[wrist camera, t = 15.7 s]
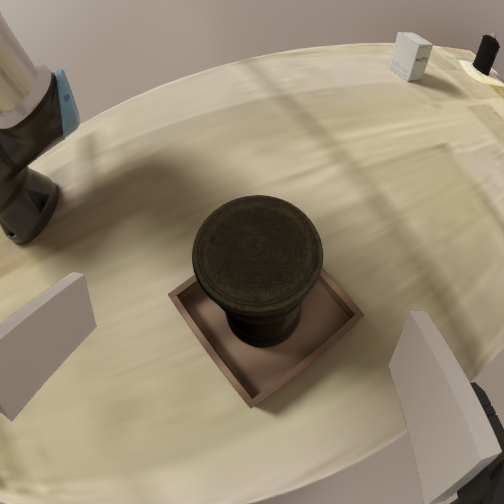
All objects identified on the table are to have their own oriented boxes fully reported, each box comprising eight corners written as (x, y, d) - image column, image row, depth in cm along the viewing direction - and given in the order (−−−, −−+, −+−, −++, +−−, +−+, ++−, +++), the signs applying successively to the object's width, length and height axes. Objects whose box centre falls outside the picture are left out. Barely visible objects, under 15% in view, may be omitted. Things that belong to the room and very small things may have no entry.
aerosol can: (476, 70, 65) (491, 32, 47) (469, 61, 68) (482, 25, 50) (491, 78, 64) (506, 42, 45) (484, 68, 67) (497, 34, 49)
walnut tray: (175, 300, 36) (167, 294, 34) (274, 229, 40) (274, 217, 37) (252, 406, 30) (250, 408, 27) (357, 320, 34) (364, 315, 31)
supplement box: (407, 82, 56) (419, 44, 45) (388, 68, 59) (396, 31, 47) (422, 80, 57) (433, 44, 46) (403, 66, 60) (412, 31, 49)
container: (290, 269, 36) (303, 177, 20) (309, 337, 32) (347, 296, 16) (220, 285, 36) (179, 204, 20) (235, 355, 32) (196, 332, 16)
